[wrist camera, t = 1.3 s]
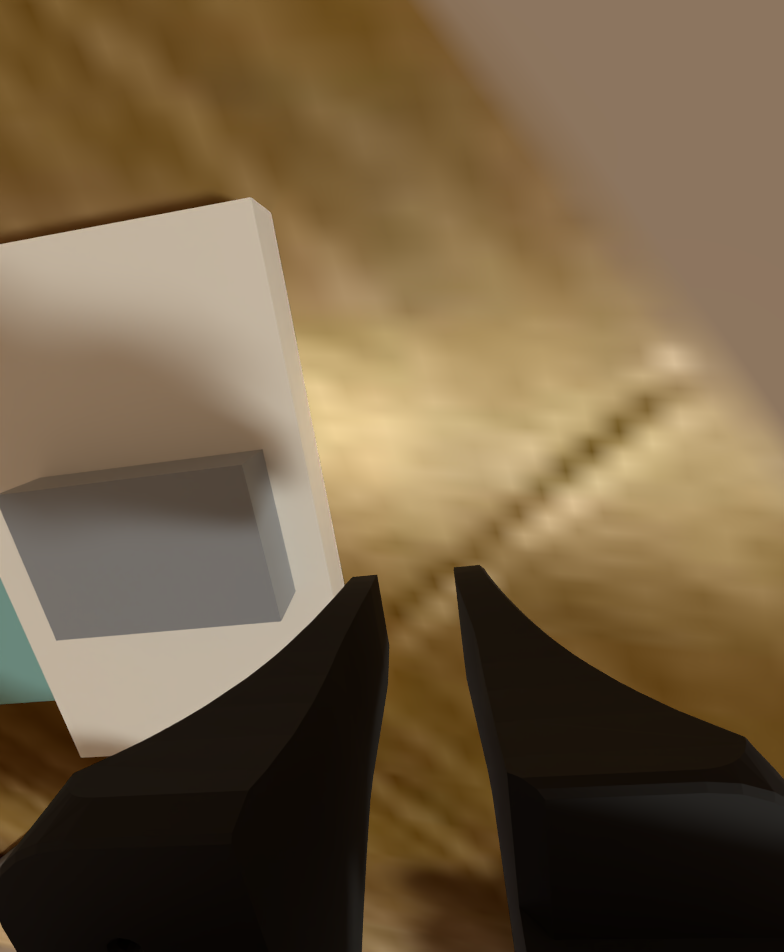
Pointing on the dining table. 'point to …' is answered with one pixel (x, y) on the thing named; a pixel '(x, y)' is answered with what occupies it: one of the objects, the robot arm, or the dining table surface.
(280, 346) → the white flat board
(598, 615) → the dining table surface
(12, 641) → the mat
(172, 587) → the grey bevelled tile
